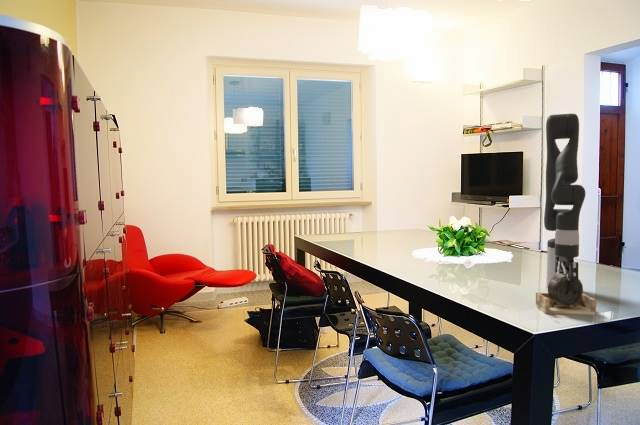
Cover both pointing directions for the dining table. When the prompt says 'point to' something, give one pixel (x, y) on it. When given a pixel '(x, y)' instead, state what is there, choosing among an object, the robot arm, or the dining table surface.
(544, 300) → the clock stand
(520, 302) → the dining table surface
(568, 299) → the alarm clock
